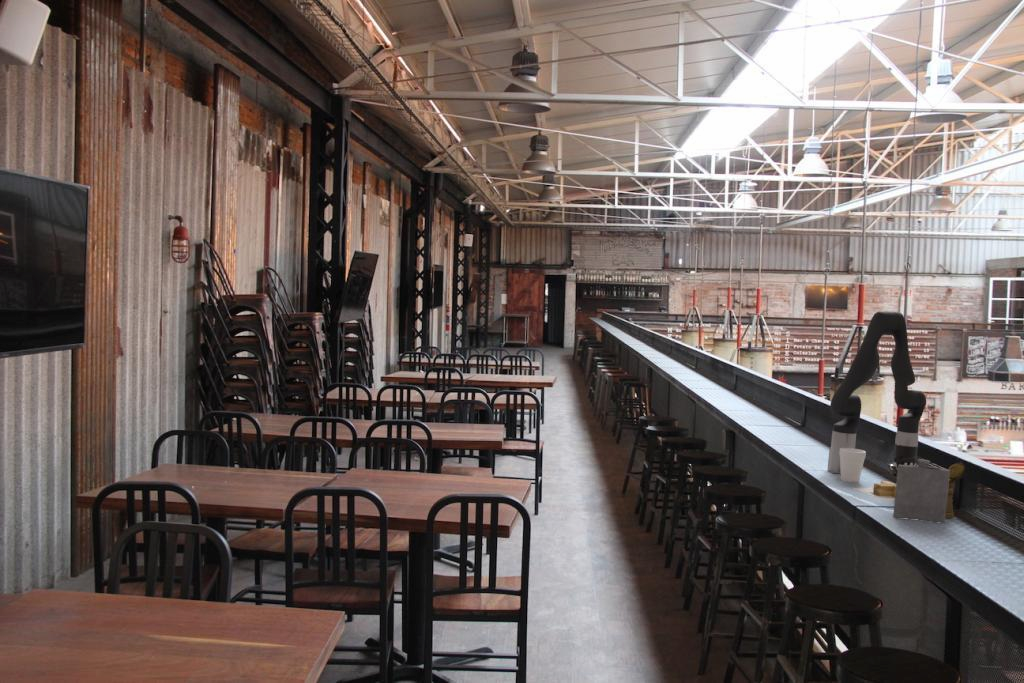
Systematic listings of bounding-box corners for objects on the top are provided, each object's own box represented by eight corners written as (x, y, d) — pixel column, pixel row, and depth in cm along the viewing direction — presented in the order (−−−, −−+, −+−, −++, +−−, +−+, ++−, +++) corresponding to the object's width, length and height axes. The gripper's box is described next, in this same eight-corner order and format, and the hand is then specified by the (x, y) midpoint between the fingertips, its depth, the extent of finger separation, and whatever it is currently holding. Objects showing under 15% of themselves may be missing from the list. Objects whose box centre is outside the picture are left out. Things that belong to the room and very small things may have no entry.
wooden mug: (968, 517, 271) (974, 465, 270) (941, 519, 265) (946, 466, 264) (945, 510, 279) (950, 459, 278) (918, 511, 274) (923, 460, 272)
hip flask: (894, 518, 263) (900, 458, 261) (891, 514, 267) (896, 456, 265) (946, 523, 260) (952, 463, 259) (941, 520, 264) (948, 461, 263)
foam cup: (862, 482, 316) (866, 450, 315) (862, 486, 308) (865, 453, 307) (837, 478, 320) (840, 446, 319) (836, 482, 311) (839, 450, 311)
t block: (867, 490, 297) (868, 481, 297) (887, 490, 299) (888, 481, 299) (886, 497, 287) (887, 488, 287) (907, 497, 290) (908, 488, 289)
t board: (850, 490, 300) (851, 487, 300) (890, 490, 305) (890, 487, 304) (884, 503, 282) (885, 500, 282) (926, 503, 287) (926, 500, 287)
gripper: (913, 441, 299) (909, 487, 300) (884, 441, 296) (880, 487, 297) (928, 445, 292) (924, 492, 293) (899, 445, 288) (894, 492, 289)
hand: (902, 489), depth 295 cm, fingers closed
